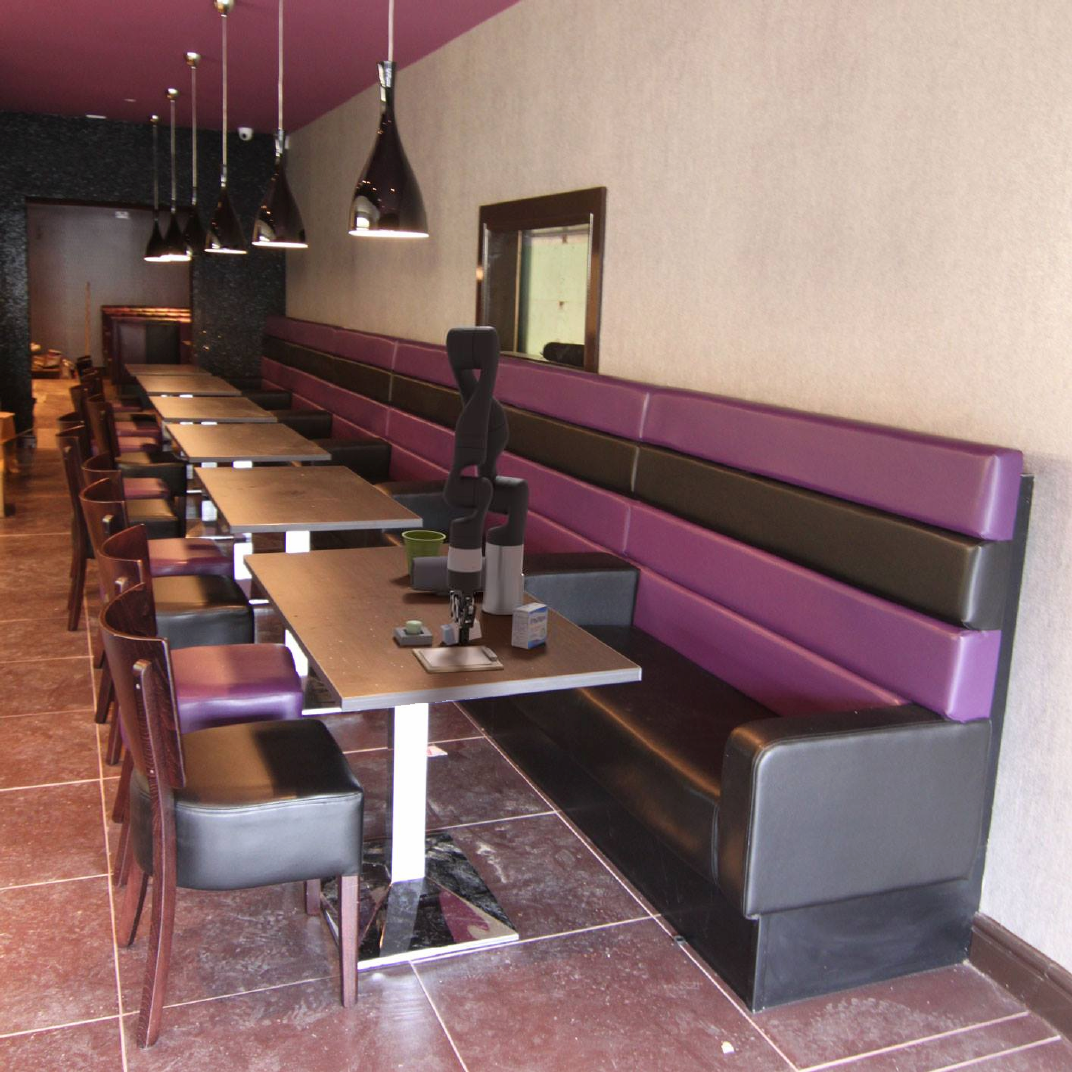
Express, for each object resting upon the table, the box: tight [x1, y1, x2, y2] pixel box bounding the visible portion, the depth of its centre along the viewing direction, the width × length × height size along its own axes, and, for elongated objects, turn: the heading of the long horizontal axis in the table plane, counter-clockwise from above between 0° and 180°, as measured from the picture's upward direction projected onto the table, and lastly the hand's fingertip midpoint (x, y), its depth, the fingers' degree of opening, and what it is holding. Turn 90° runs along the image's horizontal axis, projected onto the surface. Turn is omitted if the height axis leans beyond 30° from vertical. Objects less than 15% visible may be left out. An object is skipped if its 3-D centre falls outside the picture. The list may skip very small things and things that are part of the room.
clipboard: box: [412, 645, 505, 674], centre depth 236 cm, size 16×14×1 cm
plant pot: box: [401, 530, 447, 576], centre depth 305 cm, size 12×12×11 cm
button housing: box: [393, 626, 434, 647], centre depth 247 cm, size 7×7×2 cm
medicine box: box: [511, 602, 549, 650], centre depth 250 cm, size 8×4×9 cm, turn 148°
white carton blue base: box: [440, 617, 482, 646], centre depth 248 cm, size 8×4×4 cm, turn 109°
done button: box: [405, 620, 423, 635], centre depth 247 cm, size 3×3×3 cm
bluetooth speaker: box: [409, 555, 485, 596], centre depth 288 cm, size 23×9×10 cm, turn 106°
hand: (460, 641), depth 248 cm, fingers closed on white carton blue base, 3 cm apart
